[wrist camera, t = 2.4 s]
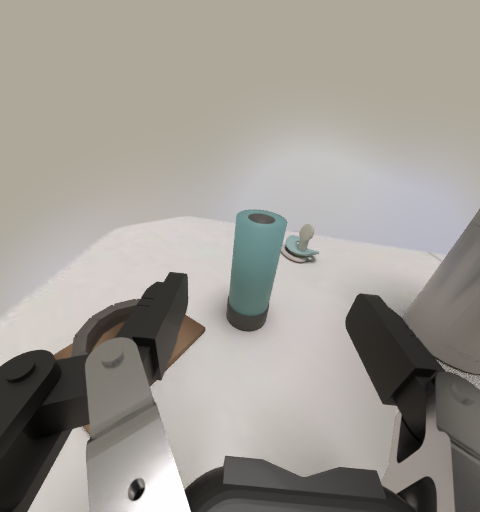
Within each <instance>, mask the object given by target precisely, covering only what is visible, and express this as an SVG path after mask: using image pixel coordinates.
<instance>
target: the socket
mask: <svg viewBox="0 0 480 512" xmlns="http://www.w3.org/2000/svg"><path fill="white" fill-rule="evenodd" d="M139 300H140V299H137V300H136V299H133V300H129V301H124V302H120V303H116V304H114V306H113V305H111V306H109V307H107V308H106V309H104V310H102V311H100V312H99V313H97V314H95V315H93V316H92V318H89V320H88V321H87V322H86V323H85V324H84V325H83V327H82V328H81V329H80V330H79V331H78V332H77V334H76V335H75V337H74V340H73V343H72V344H71V345H69V346H67V347H66V348H64V349H63V350H61V351H59V352H58V353H56V354H55V355H54V357H55V359H56V360H58V359H64V358H69V357H75V356H80V355H85V354H89V353H91V352H92V351H93V350H94V349H95V348H96V347H97V346H99V345H100V344H102V343H103V342H105V341H108V340H110V339H113V338H115V336H116V335H117V333H118V332H119V330H120V329H121V327H122V326H123V324H124V323H125V321H126V320H127V318H128V317H129V315H130V314H131V312H132V311H133V309H134V308H135V306H137V303H138V302H139ZM204 332H205V327H204V326H202V325H201V324H199V323H197V322H196V321H194V320H193V319H191V318H190V317H188V316H186V315H185V316H184V319H183V322H182V325H181V327H180V330H179V333H178V336H177V338H176V341H175V344H174V347H173V350H172V352H171V355H170V358H169V361H168V363H167V366H166V369H165V371H166V370H167V369H168V368H169V367H170V366H171V365H172V364H173V363H174V362H175V361H176V360H177V359H178V358H179V357H180V356H181V355H182V354H183V353H184V352H185V351H186V350H187V349H188V348H189V347H190V346H191V345H192V344H193V343H194V342H195V341H196V340H197V339H198V338H199V337H200V336H201V335H202V334H203V333H204ZM155 381H156V380H152V382H151V385H152V384H153V383H154V382H155ZM151 385H150V386H151ZM84 428H85V429H86V430H87V431H88V433H89V434H90V424H89V425H85V426H84Z"/></svg>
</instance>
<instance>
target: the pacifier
mask: <svg viewBox="0 0 480 512" xmlns="http://www.w3.org/2000/svg"><path fill="white" fill-rule="evenodd" d="M313 235H314V229H313V227H312V226H311V225H309V224H307V225H304V226H303V227H302V228H301V230H300V234H299V236H300V238H299V237H298V236H295V235H292V236H289V237H288V238H287V239H286V245H282V247H281V252H282V253H283V255H285V256H286V257H287V258H289V259H290V260H293V261H295V262H305V261H306V260H307V256H311V255H316V254H319V252H318V251H314V250H309V249H307V245H308V242H309V240H310V239H311V238H312V237H313ZM296 242H299V244H297V243H296ZM286 248H288V250H289V251H291V252H292V253H293V254H294V255H295V256H297V257H299V258H297V257H294V256H292V255H290V254H289V253H287V251H286V250H285V249H286Z"/></svg>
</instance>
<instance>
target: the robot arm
mask: <svg viewBox="0 0 480 512" xmlns="http://www.w3.org/2000/svg"><path fill="white" fill-rule="evenodd" d="M187 305H188V277H187V274H184V273H175V272H170V273H169V274H168V276H167V277H166V279H165V281H164V282H156V283H154V284H153V285H151V286H150V287H149V288H147V290H146V291H145V293H144V294H143V296H142V297H141V299H140V300H139V302H138V303H137V306H135V308H134V309H133V311H132V312H131V314H130V315H129V317H128V318H127V320H126V321H125V323H124V324H123V326H122V327H121V329H120V330H119V332H118V333H117V335H116V336H115V338H113V339H110V340H108V341H105V342H103V343H102V344H100V345H99V346H97V347H96V348H95V349H94V350H93V351H92V352H91V353H89V354H85V355H80V356H75V357H69V358H64V359H58V360H56V359H55V357H54V355H53V354H52V353H51V352H49V351H46V350H35V351H30V352H26V353H23V354H21V355H18V356H16V357H14V358H12V359H11V360H9V361H7V362H6V363H4V364H3V365H2V366H0V512H27V511H28V509H29V508H30V506H31V504H32V502H33V500H34V498H35V497H36V495H37V493H38V491H39V489H40V488H41V486H42V484H43V482H44V480H45V478H46V477H47V475H48V473H49V471H50V469H51V467H52V466H53V464H54V462H55V460H56V458H57V456H58V455H59V453H60V451H61V449H62V447H63V446H64V444H65V442H66V440H67V438H68V436H69V435H70V433H71V431H72V429H74V428H77V427H81V426H85V425H89V424H90V440H89V441H88V442H87V447H86V463H87V478H88V493H89V508H90V512H480V390H479V389H478V388H477V387H475V386H474V385H473V384H471V383H470V382H469V381H467V380H466V379H464V378H462V377H460V376H458V375H456V374H453V373H450V372H446V371H445V370H444V369H443V368H442V367H441V365H440V364H439V363H438V362H437V360H436V359H435V358H434V357H433V356H435V357H437V358H438V359H440V360H441V361H443V362H445V363H447V364H449V365H451V366H453V367H455V368H458V369H461V370H463V371H466V372H470V373H474V374H480V209H479V211H478V212H477V213H476V215H475V217H474V218H473V219H472V221H471V222H470V224H469V225H468V226H467V228H466V229H465V231H464V232H463V234H462V235H461V236H460V238H459V239H458V240H457V242H456V243H455V245H454V246H453V248H452V249H451V250H450V252H449V253H448V254H447V256H446V257H445V259H444V260H443V261H442V263H441V264H440V266H439V267H438V268H437V270H436V271H435V273H434V274H433V275H432V277H431V278H430V280H429V281H428V282H427V284H426V285H425V287H424V288H423V289H422V291H421V292H420V293H419V295H418V296H417V298H416V299H415V300H414V302H413V303H412V305H411V306H410V308H409V309H408V310H407V312H406V313H405V315H404V317H403V319H402V318H401V317H400V316H399V315H398V314H397V313H395V312H394V311H393V310H392V309H390V308H388V306H387V305H386V304H385V302H384V301H383V300H382V299H381V298H380V297H379V296H377V295H369V294H359V295H357V297H356V299H355V301H354V303H353V305H352V307H351V309H350V311H349V313H348V315H347V317H346V322H345V323H346V329H347V332H348V334H349V336H350V338H351V340H352V342H353V344H354V346H355V348H356V350H357V352H358V354H359V356H360V358H361V360H362V362H363V364H364V366H365V369H366V371H367V373H368V375H369V377H370V379H371V381H372V383H373V385H374V387H375V389H376V391H377V393H378V395H379V397H380V399H381V401H382V403H383V404H385V405H395V406H397V407H398V409H399V412H398V413H397V415H396V418H395V425H394V432H393V439H392V446H391V453H390V460H389V465H388V468H387V471H386V473H385V474H384V476H383V478H382V480H381V482H380V479H379V476H378V474H377V471H375V470H365V469H355V468H345V467H338V468H335V469H331V470H328V471H325V472H321V473H318V474H315V475H311V476H308V477H301V476H298V475H296V474H294V473H292V472H289V471H287V470H285V469H283V468H280V467H278V466H276V465H274V464H272V463H269V462H267V461H265V460H263V459H253V458H243V457H233V456H225V460H224V465H223V466H222V467H219V468H215V469H213V470H211V471H209V472H207V473H205V474H203V475H202V476H200V477H199V478H197V479H196V480H195V481H194V482H192V483H191V484H190V485H189V486H188V487H187V488H186V489H185V490H184V489H183V486H182V483H181V480H180V477H179V474H178V470H177V467H176V464H175V461H174V458H173V455H172V451H171V448H170V445H169V442H168V439H167V436H166V433H165V429H164V426H163V423H162V420H161V417H160V414H159V411H158V408H157V405H156V403H155V402H154V399H153V396H152V393H151V390H150V385H151V382H152V380H162V377H163V374H164V372H165V369H166V366H167V363H168V361H169V358H170V355H171V352H172V350H173V347H174V344H175V341H176V338H177V336H178V333H179V330H180V327H181V325H182V322H183V319H184V316H185V313H186V310H187ZM432 355H433V356H432Z"/></svg>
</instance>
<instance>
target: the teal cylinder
mask: <svg viewBox="0 0 480 512" xmlns="http://www.w3.org/2000/svg"><path fill="white" fill-rule="evenodd" d="M286 225H287V221H286V219H285V218H284V217H282V216H280V215H278V214H276V213H273V212H269V211H264V210H245V211H241V212H239V213H238V214H237V216H236V227H235V238H234V248H233V259H232V270H231V281H230V292H229V297H228V304H227V319H228V321H229V322H230V324H231V325H232V326H234V327H235V328H237V329H239V330H243V331H254V330H257V329H259V328H261V327H262V326H263V325H264V323H265V321H266V317H267V312H268V308H269V300H270V296H271V291H272V287H273V282H274V278H275V274H276V269H277V265H278V261H279V256H280V252H281V247H282V243H283V239H284V234H285V230H286Z"/></svg>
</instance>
